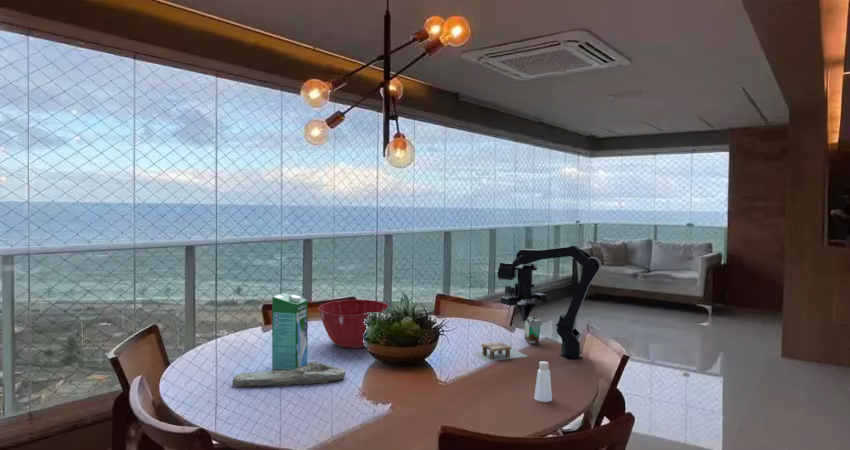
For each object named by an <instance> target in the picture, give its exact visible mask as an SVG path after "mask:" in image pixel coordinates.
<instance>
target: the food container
mask: <svg viewBox="0 0 850 450" xmlns="http://www.w3.org/2000/svg"><path fill="white" fill-rule="evenodd" d="M542 325H543V321H542V319H541V318H540V317H538V316H535V315H529V316H528V318H527V320H526V321H524V340H525V341H526V342H527V344H528V345H538V344H539V342H540V334H541V326H542Z"/></svg>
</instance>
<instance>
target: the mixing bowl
mask: <svg viewBox="0 0 850 450" xmlns="http://www.w3.org/2000/svg"><path fill="white" fill-rule="evenodd" d="M388 305H389V304H388V303H386V302H382V301H377V300H369V299H344V300H335V301H330V302H326V303H323V304H321V305H319V307H318V311H319V313H320V314H319V315H320V318H321V321H322V325H323V327H324V329H325V332H326V333H327V335H328V337H329V339H330V341H332V342H333V343H334V344H335V345H337V346H338V347H340V348H344V349H362V348H365V347H364V343H363V334H364V332H365V330H366V325H364V323H363V322H364V318H365V317H366V316H368V315H370V314H363V313H367V312H378V313H379V312H381V311H382V312H383V310H385V309H386V308H387V307H388Z"/></svg>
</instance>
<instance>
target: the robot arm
mask: <svg viewBox="0 0 850 450" xmlns="http://www.w3.org/2000/svg"><path fill="white" fill-rule="evenodd" d="M515 257H516V258H515V259H514V261H512V262H511V263H509V262H505V261H504V262H503V261H502V262H499V266H498V269H497V270H498V271H497V279H498V280H502V281H503V280H505V281H514V280H515V279H517V281H516V282H515V284H514V286H513V287H512V286H511V285H505V287H504V294H505V295H502V297H500V304H503V305H506V306H516V307H517V309H518V310H519V314H520V316H521V320H522V322H525V321H526V320H527V318H528V316H530V314H531V313H532V311H533V308H534V307H535V306H537V303H535V301H540V302H541V303H547V302H548V300H549V298H548V296H547V294H545V293H541V292H535V293H534V292H533V288H535V284H534V283H533V271H537V270H538V267H537V266H536V265H535V263H536V262H537V261H541V260H549V259H550V260H551V259H557V258H558V259H559V258H567V257H571V258H573V259H574V260H575V261H576V262H577V263H578V264H580V265H581V266H582V268H581V274H580V280H579V282H578V285H577V287H576V290H575V292H574V295H573V296H572V299H571V302H570V304H569V306H568V309H567V311H566V313H565V314H564V313H562V314H561V315H559V318H558V322H557V324H556V325H555V327H556V333H557V335H558V336H559V337H560V338H561V353H558V356H560V357H562V358H565V359H567V360H578V359H583V355H580V352H581V351H580V349H581V347H580V343H581V341H579V340H580V337H581V335H582V334H581V333H580V332H579V330H577V329H576V326H577V321H578V320H577V319H578V314H579V312H580V310H581V307H582V304H583V302H584V300H585V297H586V296H587V292H588V290H589V287H590V285H591V283H592V281H593V280H594V278H595V277H596V276H597V274H598V272H599V271H600V270H601V267H602V261H601V259H599V258H598V257H596V256H592V255H590V254H589V253H587V252H586V251H584V250H583V249H582V248H580V247H579V246H578V245H576V244H572V245H569V246H562V247H554V248H553V247H552V248H546V249H545V248H543V249H539V248H538V249H537V248H524V249H520V250H519V251H517V253H516V255H515ZM534 262H535V263H534ZM531 263H532V264H531ZM527 264H531V265H527ZM519 266H522V267H519Z"/></svg>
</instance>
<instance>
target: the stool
mask: <svg viewBox="0 0 850 450" xmlns="http://www.w3.org/2000/svg"><path fill="white" fill-rule="evenodd" d="M481 347H482V352H483V355H487V352H488V351H490V359H494V352H495V351H498V353H499V354H500V353H502V351H503V350H505V356H506V357H510V350H511V349H512V346H511V345H508V344H505V343H504V342H501V341H494V342H493V341H492V342H486V343H485V342H483V343H481Z"/></svg>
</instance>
